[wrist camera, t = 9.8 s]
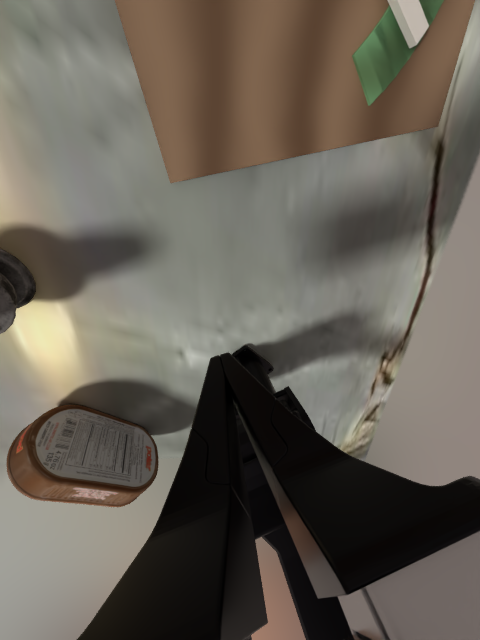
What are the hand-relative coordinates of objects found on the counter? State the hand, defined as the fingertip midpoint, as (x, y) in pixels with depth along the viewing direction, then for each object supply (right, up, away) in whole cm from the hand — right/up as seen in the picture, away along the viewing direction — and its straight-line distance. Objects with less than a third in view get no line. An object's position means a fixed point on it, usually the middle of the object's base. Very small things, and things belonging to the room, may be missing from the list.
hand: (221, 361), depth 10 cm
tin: (-16, -11, +18) cm, 26 cm away
